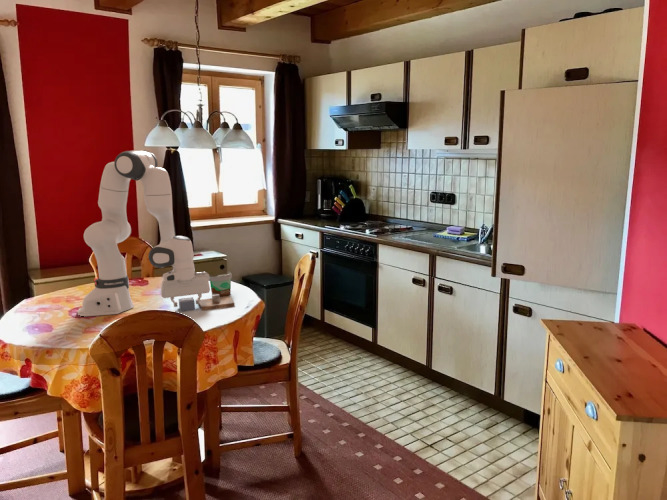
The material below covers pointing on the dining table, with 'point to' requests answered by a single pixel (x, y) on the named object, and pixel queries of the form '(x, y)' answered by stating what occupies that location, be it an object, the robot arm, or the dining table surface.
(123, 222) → the robot arm
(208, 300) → the board
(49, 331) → the dining table surface
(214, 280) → the food container
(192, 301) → the grey drawer unit
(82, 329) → the dining table surface
